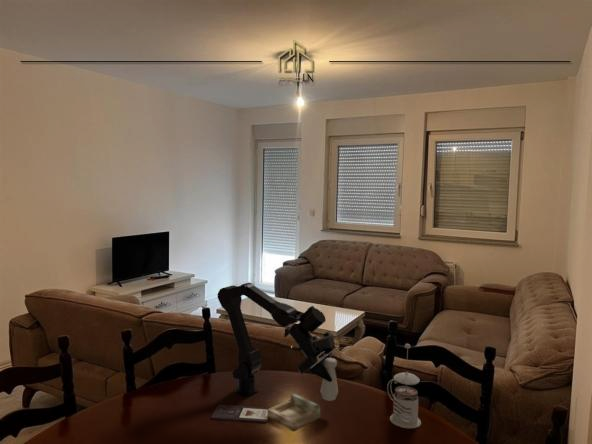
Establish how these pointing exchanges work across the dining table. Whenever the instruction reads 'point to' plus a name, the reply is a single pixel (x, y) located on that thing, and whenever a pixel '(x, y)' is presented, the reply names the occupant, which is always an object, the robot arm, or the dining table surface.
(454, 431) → the dining table surface
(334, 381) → the salt shaker
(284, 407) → the maple tray
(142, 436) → the dining table surface
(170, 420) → the dining table surface
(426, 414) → the dining table surface
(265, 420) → the chocolate bar
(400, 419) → the french press
